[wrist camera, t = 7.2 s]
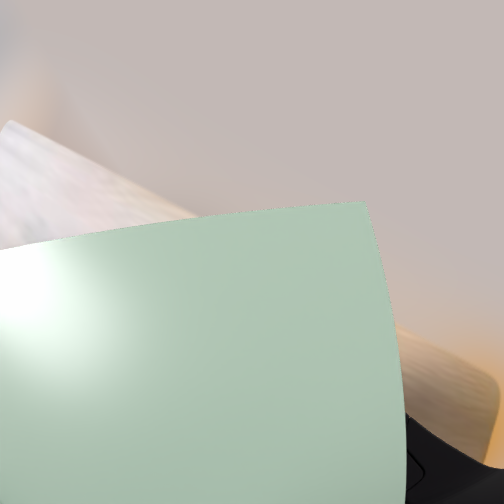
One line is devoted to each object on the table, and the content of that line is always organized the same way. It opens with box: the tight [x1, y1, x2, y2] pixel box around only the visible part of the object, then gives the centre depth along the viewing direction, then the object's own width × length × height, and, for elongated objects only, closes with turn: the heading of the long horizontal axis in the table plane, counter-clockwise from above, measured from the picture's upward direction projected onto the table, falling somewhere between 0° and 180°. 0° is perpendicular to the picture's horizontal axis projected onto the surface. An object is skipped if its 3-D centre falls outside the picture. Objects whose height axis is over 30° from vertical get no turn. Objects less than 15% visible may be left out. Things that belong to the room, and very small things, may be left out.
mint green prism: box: [0, 201, 406, 504], centre depth 8 cm, size 6×6×12 cm
